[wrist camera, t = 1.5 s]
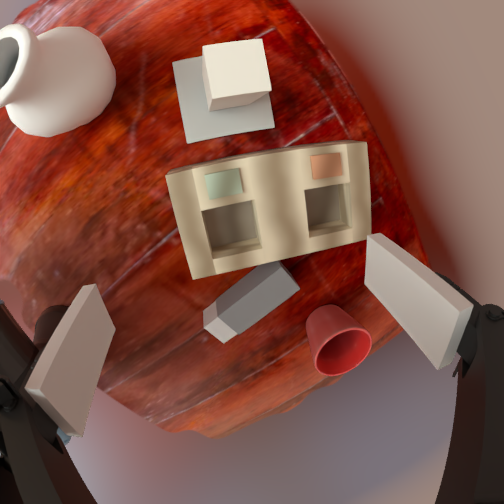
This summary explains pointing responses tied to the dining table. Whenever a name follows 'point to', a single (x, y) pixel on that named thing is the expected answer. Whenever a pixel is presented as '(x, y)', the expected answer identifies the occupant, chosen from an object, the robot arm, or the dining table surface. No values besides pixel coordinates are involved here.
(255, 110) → the mat
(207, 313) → the plug
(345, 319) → the flower pot
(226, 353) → the dining table surface
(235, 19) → the dining table surface
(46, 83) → the vase
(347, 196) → the socket box
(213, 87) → the plug
